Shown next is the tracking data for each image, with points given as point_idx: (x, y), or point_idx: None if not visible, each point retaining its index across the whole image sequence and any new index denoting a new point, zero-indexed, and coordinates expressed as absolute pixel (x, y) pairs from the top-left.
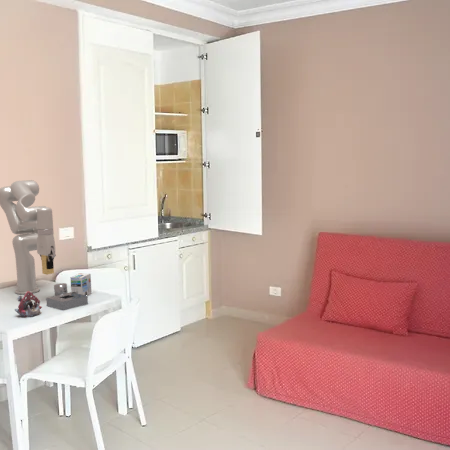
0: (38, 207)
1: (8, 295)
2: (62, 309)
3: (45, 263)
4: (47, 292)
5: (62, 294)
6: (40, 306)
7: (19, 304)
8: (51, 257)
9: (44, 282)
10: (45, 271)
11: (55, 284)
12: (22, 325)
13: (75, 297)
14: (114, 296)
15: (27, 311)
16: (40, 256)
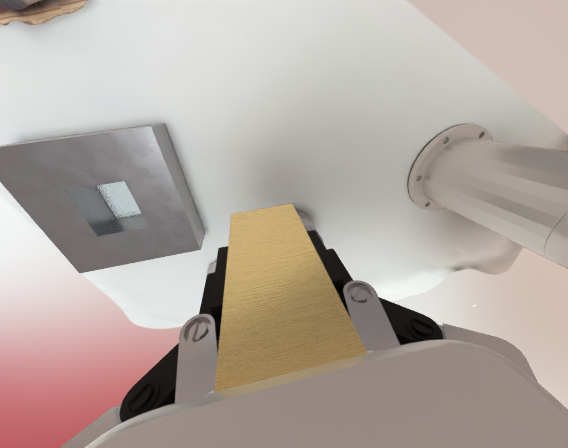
0: None
1: (476, 86)
2: (20, 142)
3: (242, 272)
4: (373, 213)
5: (179, 213)
6: None
7: None
8: (120, 406)
9: (477, 248)
10: (250, 222)
11: (322, 240)
12: None
13: (71, 232)
14: (161, 325)
15: None
16: (422, 314)
